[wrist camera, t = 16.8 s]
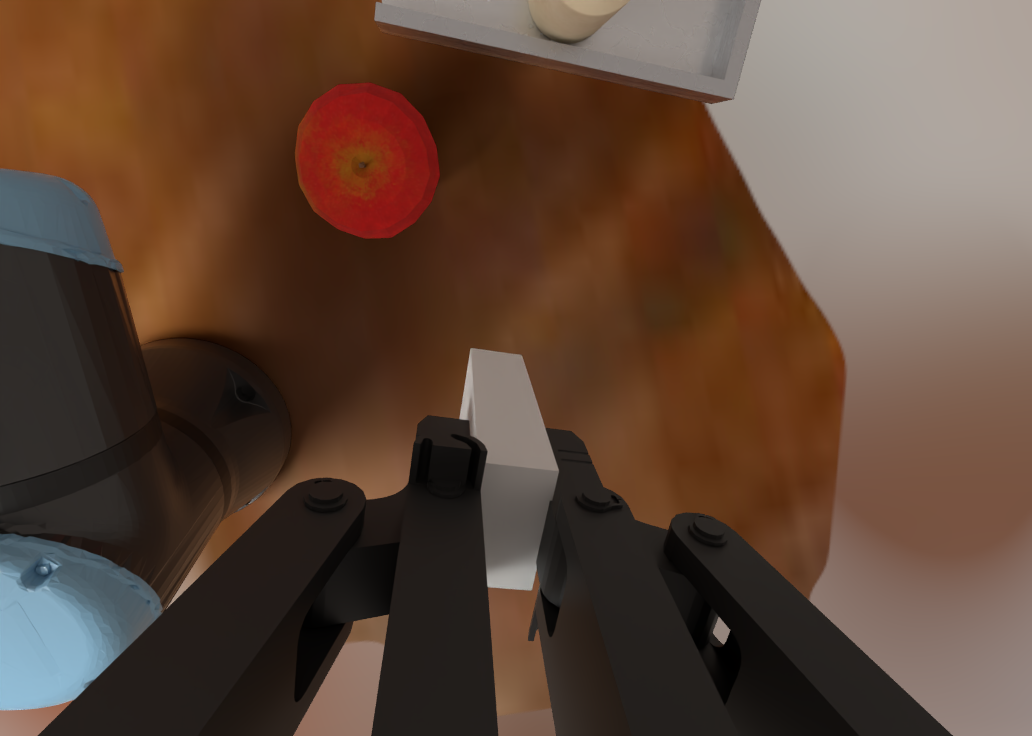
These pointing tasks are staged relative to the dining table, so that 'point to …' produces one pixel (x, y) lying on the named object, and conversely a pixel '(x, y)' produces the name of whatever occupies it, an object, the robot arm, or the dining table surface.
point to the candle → (572, 17)
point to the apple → (366, 160)
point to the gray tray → (598, 40)
